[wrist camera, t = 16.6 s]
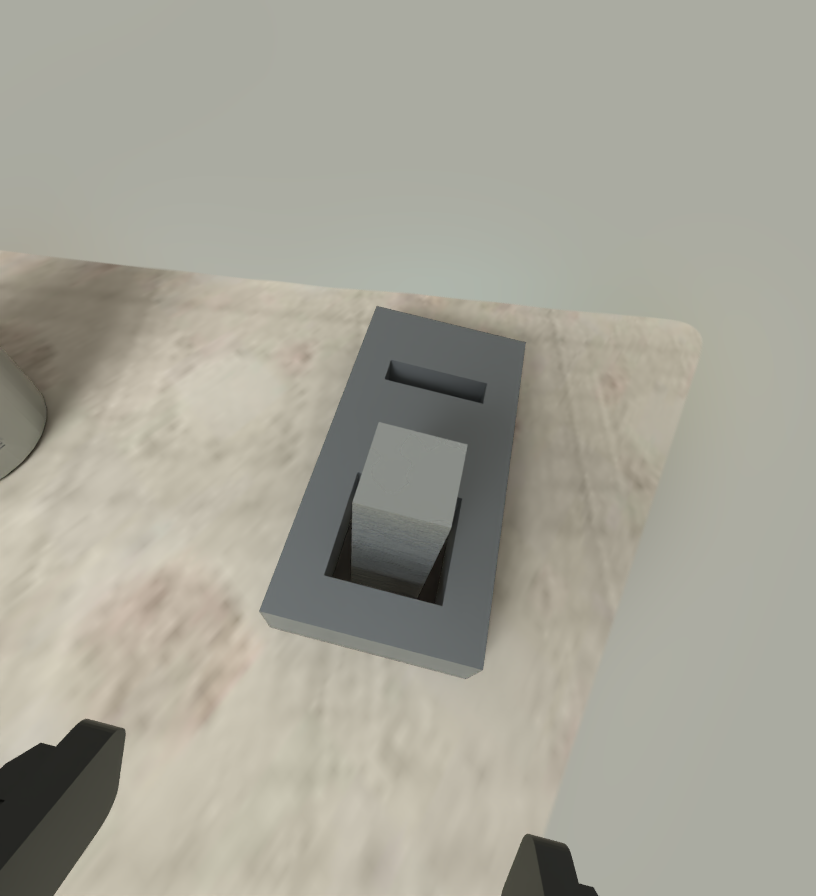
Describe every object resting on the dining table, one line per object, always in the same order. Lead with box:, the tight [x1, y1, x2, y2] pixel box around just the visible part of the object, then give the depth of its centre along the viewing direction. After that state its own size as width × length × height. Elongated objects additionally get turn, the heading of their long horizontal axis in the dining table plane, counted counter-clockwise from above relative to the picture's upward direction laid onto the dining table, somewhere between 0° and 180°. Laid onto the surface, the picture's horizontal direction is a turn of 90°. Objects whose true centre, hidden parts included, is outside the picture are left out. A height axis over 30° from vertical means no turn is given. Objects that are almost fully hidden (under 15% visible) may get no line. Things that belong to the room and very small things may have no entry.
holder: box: [259, 306, 526, 679], centre depth 27 cm, size 20×10×4 cm, turn 167°
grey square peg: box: [351, 422, 468, 599], centre depth 22 cm, size 4×4×10 cm
